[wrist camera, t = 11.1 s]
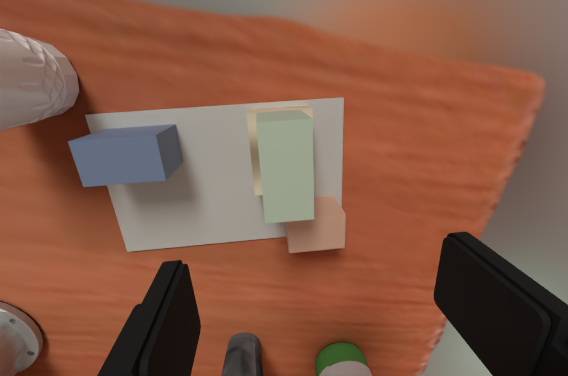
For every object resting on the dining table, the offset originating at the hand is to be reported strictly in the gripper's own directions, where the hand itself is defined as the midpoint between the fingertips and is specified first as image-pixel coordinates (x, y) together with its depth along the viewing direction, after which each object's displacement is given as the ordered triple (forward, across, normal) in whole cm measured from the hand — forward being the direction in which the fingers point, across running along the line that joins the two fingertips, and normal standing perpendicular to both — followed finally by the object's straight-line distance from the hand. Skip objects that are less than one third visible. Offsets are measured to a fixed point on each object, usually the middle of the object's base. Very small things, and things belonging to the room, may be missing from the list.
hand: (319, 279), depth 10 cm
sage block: (+18, 0, 0) cm, 18 cm away
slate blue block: (+22, +14, -1) cm, 26 cm away
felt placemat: (+22, +6, +3) cm, 23 cm away
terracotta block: (+22, -3, +8) cm, 24 cm away
